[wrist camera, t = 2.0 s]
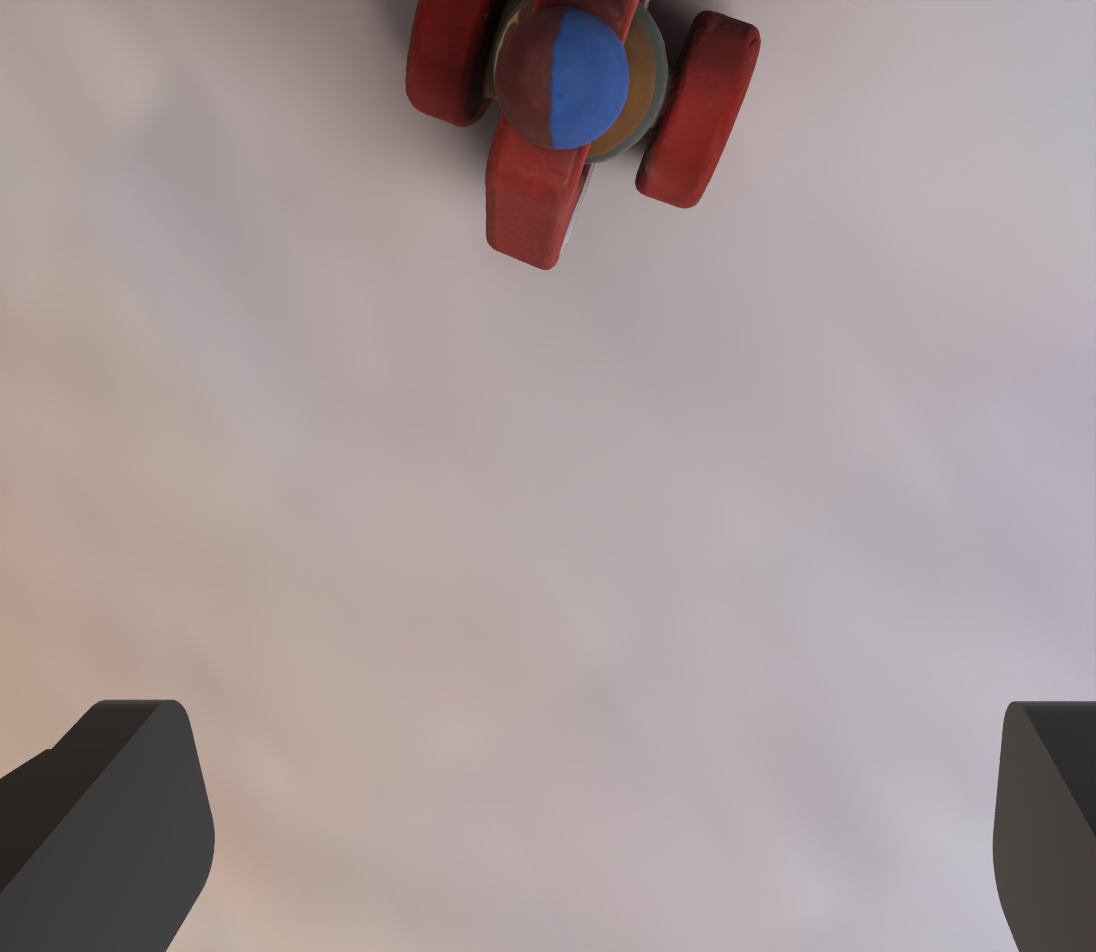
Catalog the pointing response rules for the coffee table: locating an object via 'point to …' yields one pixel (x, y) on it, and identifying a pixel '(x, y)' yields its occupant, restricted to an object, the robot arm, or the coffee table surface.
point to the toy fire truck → (577, 102)
